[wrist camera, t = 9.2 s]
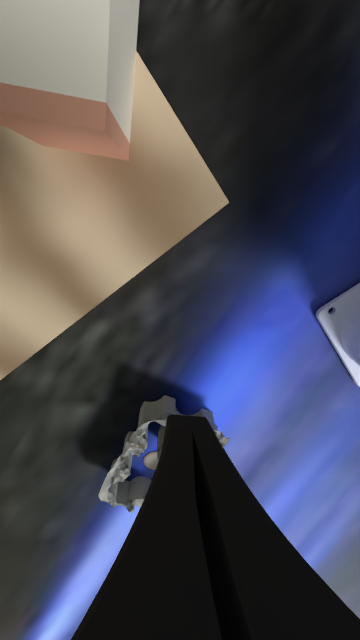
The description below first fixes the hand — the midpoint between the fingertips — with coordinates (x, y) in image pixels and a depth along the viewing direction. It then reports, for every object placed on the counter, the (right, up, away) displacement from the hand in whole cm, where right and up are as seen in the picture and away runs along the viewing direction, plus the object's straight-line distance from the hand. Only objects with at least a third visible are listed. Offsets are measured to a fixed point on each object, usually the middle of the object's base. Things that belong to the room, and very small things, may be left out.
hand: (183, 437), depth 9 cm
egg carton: (-2, -7, +14) cm, 16 cm away
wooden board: (-10, +11, +7) cm, 16 cm away
